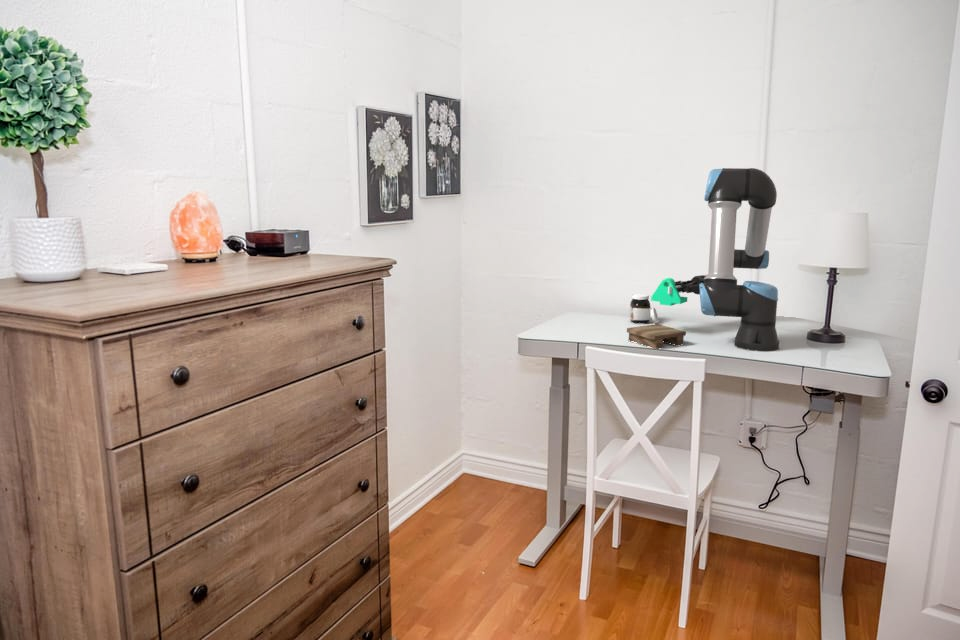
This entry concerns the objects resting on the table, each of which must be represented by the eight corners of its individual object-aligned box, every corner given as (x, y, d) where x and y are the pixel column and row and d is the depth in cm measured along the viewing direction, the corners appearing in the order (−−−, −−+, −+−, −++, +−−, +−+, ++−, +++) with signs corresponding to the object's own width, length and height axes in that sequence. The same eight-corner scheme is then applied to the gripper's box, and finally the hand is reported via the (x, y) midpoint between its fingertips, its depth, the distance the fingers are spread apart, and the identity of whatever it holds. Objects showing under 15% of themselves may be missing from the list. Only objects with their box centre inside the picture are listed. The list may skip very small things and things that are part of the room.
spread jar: (627, 319, 298) (628, 293, 296) (653, 319, 299) (654, 293, 296) (635, 325, 286) (636, 298, 284) (661, 325, 287) (663, 297, 285)
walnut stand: (685, 344, 253) (685, 331, 252) (654, 349, 246) (654, 335, 245) (656, 336, 265) (657, 324, 264) (626, 341, 259) (627, 328, 258)
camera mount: (687, 303, 269) (689, 277, 267) (680, 306, 263) (681, 280, 261) (659, 300, 276) (660, 275, 274) (650, 303, 270) (651, 277, 268)
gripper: (720, 296, 272) (680, 302, 259) (685, 290, 286) (645, 296, 274) (722, 277, 270) (681, 282, 258) (686, 272, 285) (646, 277, 272)
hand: (663, 289), depth 266 cm, fingers closed on camera mount, 5 cm apart
